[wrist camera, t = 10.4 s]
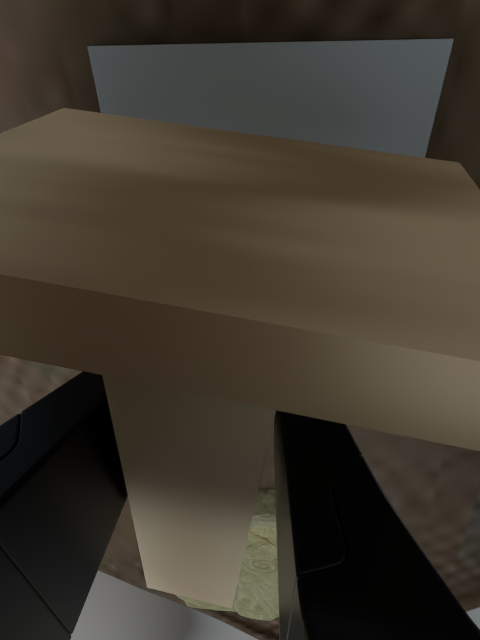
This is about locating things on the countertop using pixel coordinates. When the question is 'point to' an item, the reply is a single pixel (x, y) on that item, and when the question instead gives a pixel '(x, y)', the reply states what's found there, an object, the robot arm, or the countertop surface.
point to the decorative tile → (256, 566)
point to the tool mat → (283, 88)
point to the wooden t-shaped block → (236, 306)
